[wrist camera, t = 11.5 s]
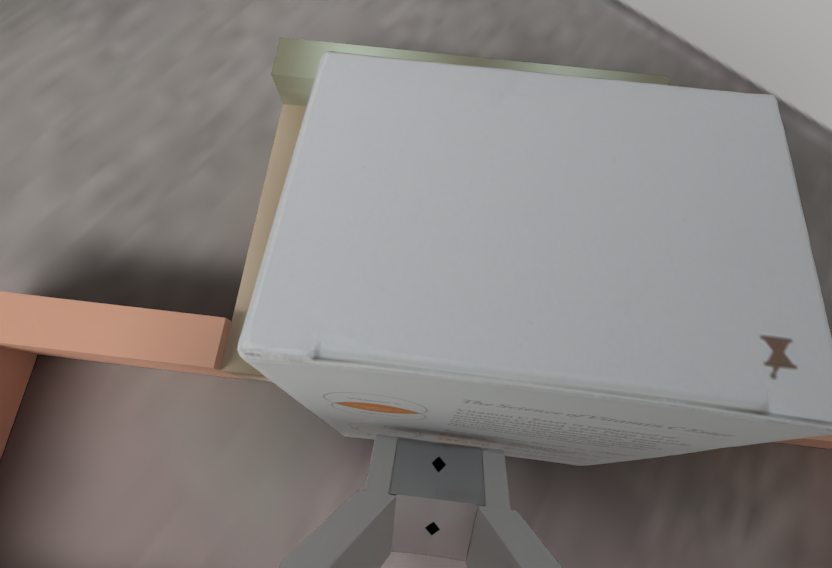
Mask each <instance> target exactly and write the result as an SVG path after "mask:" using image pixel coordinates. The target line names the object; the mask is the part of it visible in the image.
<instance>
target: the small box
mask: <svg viewBox="0 0 832 568" xmlns="http://www.w3.org/2000/svg"><path fill="white" fill-rule="evenodd" d="M237 350H238V353H239V356H240V357H241V358H242V359H243V360H244V361H246V362H247V363H248V364H250V365H251V366H253V367H254V368H255V369H257V370H258V371H259V372H260V373H262V374H263V375H264V376H265V377H267V378H268V379H269V380H271V381H272V382H273V383H274V384H276V385H277V386H278V387H280V388H281V389H283V390H284V391H285V392H286V393H288V394H289V395H290V396H291V397H293V398H294V399H295V400H297V401H298V402H299V403H301V404H302V405H303V406H304V407H306V408H307V409H309V410H310V411H311V412H312V413H314V414H315V415H316V416H317V417H319V418H320V419H322V420H323V421H324V422H326V423H327V424H328V425H329V426H331V427H332V428H333V429H335V430H336V431H337V432H339V433H340V434H341V435H342V436H346V437H358V438H366V439H374V440H375V438H376V435H377V434H380V435H387V436H393V437H403V438H410V439H416V440H423V441H430V442H437V443H448V444H457V445H465V446H474V447H480V448H481V447H483V448H492V449H501V450H503V452H504V454H505V456H510V457H518V458H526V459H533V460H541V461H549V462H556V463H563V464H570V465H576V466H586V465H596V464H606V463H615V462H622V461H631V460H640V459H649V458H656V457H664V456H670V455H679V454H685V453H693V452H699V451H706V450H713V449H719V448H725V447H735V446H744V445H752V444H760V443H768V442H776V441H783V440H790V439H798V438H807V437H815V436H825V435H832V337H831V332H830V328H829V324H828V320H827V315H826V311H825V306H824V302H823V297H822V293H821V288H820V284H819V280H818V275H817V271H816V267H815V263H814V258H813V254H812V250H811V245H810V240H809V236H808V231H807V227H806V223H805V219H804V214H803V210H802V206H801V201H800V197H799V192H798V187H797V183H796V178H795V174H794V169H793V165H792V160H791V156H790V151H789V148H788V144H787V139H786V135H785V130H784V127H783V123H782V120H781V117H780V114H779V108H778V102H777V99H776V98H775V97H774V96H773V95H772V94H759V93H746V92H736V91H726V90H716V89H705V88H695V87H685V86H675V85H664V84H654V83H644V82H633V81H621V80H612V79H602V78H591V77H580V76H570V75H560V74H550V73H540V72H530V71H521V70H510V69H500V68H491V67H481V66H470V65H458V64H448V63H440V62H428V61H420V60H410V59H399V58H389V57H379V56H370V55H360V54H350V53H341V52H335V51H327V52H325V53H324V54H323V55H322V57H321V58H320V62H319V66H318V69H317V73H316V76H315V79H314V83H313V86H312V90H311V93H310V97H309V100H308V103H307V107H306V110H305V114H304V117H303V120H302V124H301V127H300V131H299V134H298V138H297V141H296V144H295V148H294V151H293V155H292V158H291V162H290V165H289V169H288V172H287V176H286V179H285V182H284V186H283V189H282V193H281V196H280V200H279V203H278V207H277V210H276V213H275V217H274V220H273V224H272V227H271V231H270V234H269V238H268V241H267V245H266V248H265V252H264V255H263V259H262V262H261V266H260V269H259V273H258V276H257V280H256V283H255V287H254V290H253V294H252V298H251V301H250V305H249V308H248V312H247V315H246V319H245V322H244V325H243V329H242V332H241V335H240V338H239V342H238V348H237Z"/></svg>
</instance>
